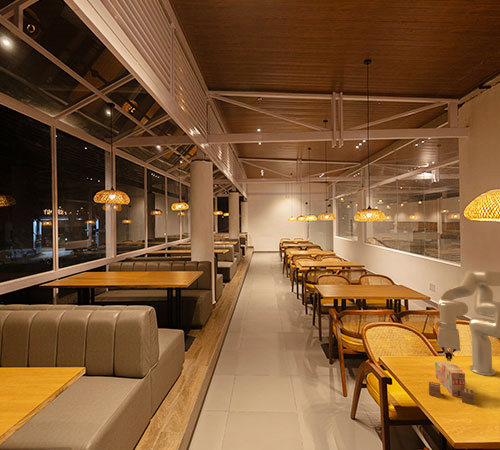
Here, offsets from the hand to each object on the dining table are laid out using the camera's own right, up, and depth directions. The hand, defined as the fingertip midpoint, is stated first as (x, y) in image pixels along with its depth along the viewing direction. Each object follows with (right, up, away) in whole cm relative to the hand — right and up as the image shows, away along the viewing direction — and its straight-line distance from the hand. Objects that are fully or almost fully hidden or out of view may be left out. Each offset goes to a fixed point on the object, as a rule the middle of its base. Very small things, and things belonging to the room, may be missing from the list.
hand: (448, 360), depth 171 cm
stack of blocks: (+1, -15, +1) cm, 15 cm away
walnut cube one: (-12, -15, -7) cm, 20 cm away
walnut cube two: (0, -14, -14) cm, 20 cm away
